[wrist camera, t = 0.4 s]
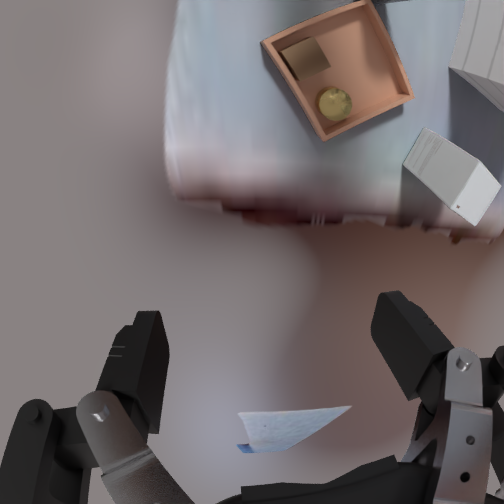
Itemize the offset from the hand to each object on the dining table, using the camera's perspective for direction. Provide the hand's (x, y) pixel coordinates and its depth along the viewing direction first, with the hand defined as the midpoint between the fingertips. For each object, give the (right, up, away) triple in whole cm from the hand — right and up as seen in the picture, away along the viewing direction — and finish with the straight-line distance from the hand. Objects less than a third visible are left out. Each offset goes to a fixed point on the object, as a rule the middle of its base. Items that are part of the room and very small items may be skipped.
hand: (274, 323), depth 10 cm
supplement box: (+26, +17, +26) cm, 41 cm away
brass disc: (+9, +21, +20) cm, 30 cm away
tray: (+10, +25, +18) cm, 32 cm away
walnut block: (+5, +24, +17) cm, 30 cm away
